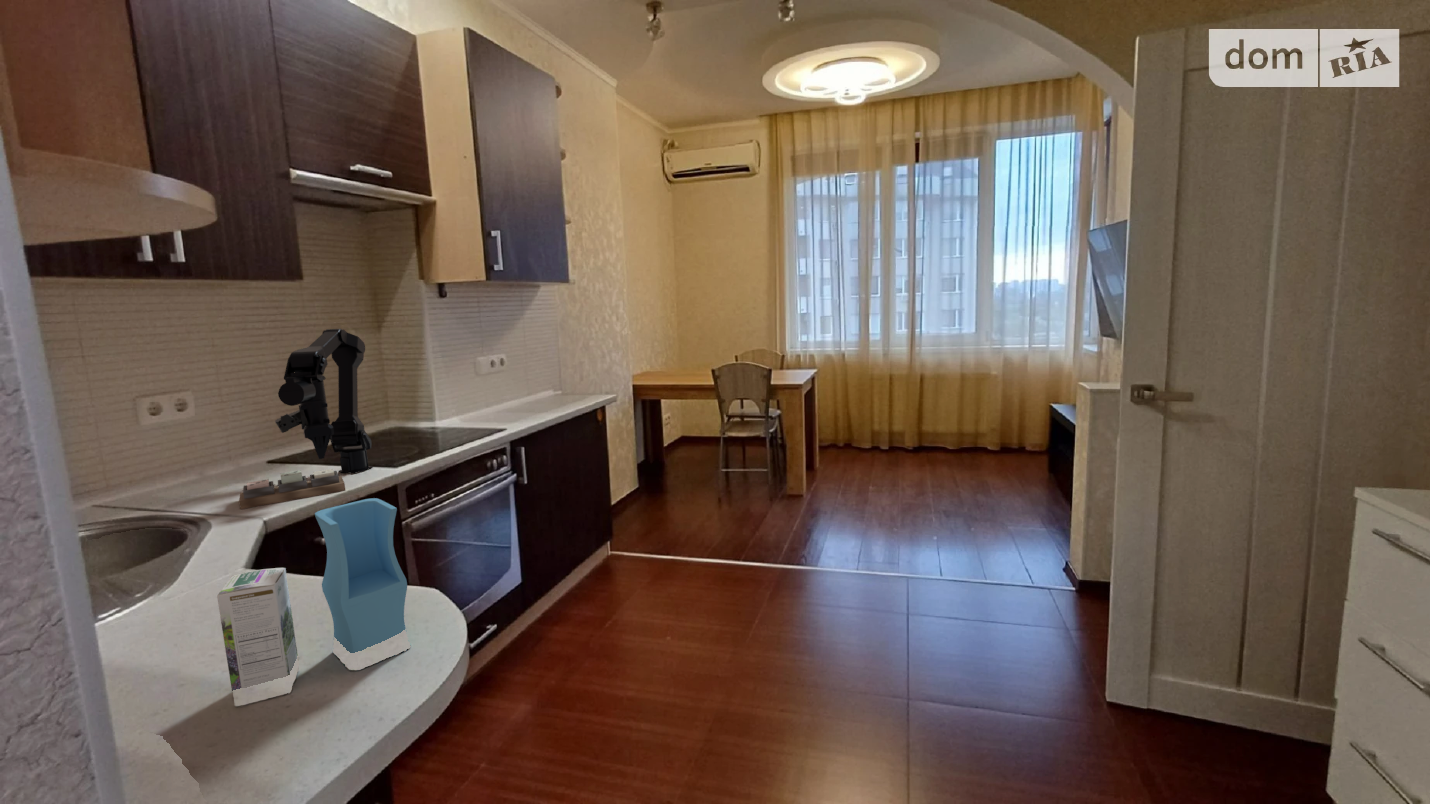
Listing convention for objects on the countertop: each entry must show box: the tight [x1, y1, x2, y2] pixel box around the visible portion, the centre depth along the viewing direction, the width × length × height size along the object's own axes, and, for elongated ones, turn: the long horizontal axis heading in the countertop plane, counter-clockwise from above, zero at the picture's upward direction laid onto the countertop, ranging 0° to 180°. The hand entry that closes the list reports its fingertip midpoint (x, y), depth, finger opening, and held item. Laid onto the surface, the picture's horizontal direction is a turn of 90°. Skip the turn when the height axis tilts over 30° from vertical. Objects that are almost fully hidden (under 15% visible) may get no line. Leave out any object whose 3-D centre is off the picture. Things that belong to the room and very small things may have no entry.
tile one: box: [313, 468, 335, 479], centre depth 161 cm, size 4×4×2 cm
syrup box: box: [216, 567, 299, 692], centre depth 75 cm, size 6×6×14 cm
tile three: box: [246, 478, 270, 490], centre depth 153 cm, size 4×4×2 cm
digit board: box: [238, 470, 346, 510], centre depth 158 cm, size 22×9×4 cm, turn 126°
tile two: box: [279, 470, 303, 484], centre depth 157 cm, size 4×4×2 cm
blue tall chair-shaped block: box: [314, 497, 408, 653], centre depth 82 cm, size 8×8×20 cm
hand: (321, 458), depth 161 cm, fingers closed
